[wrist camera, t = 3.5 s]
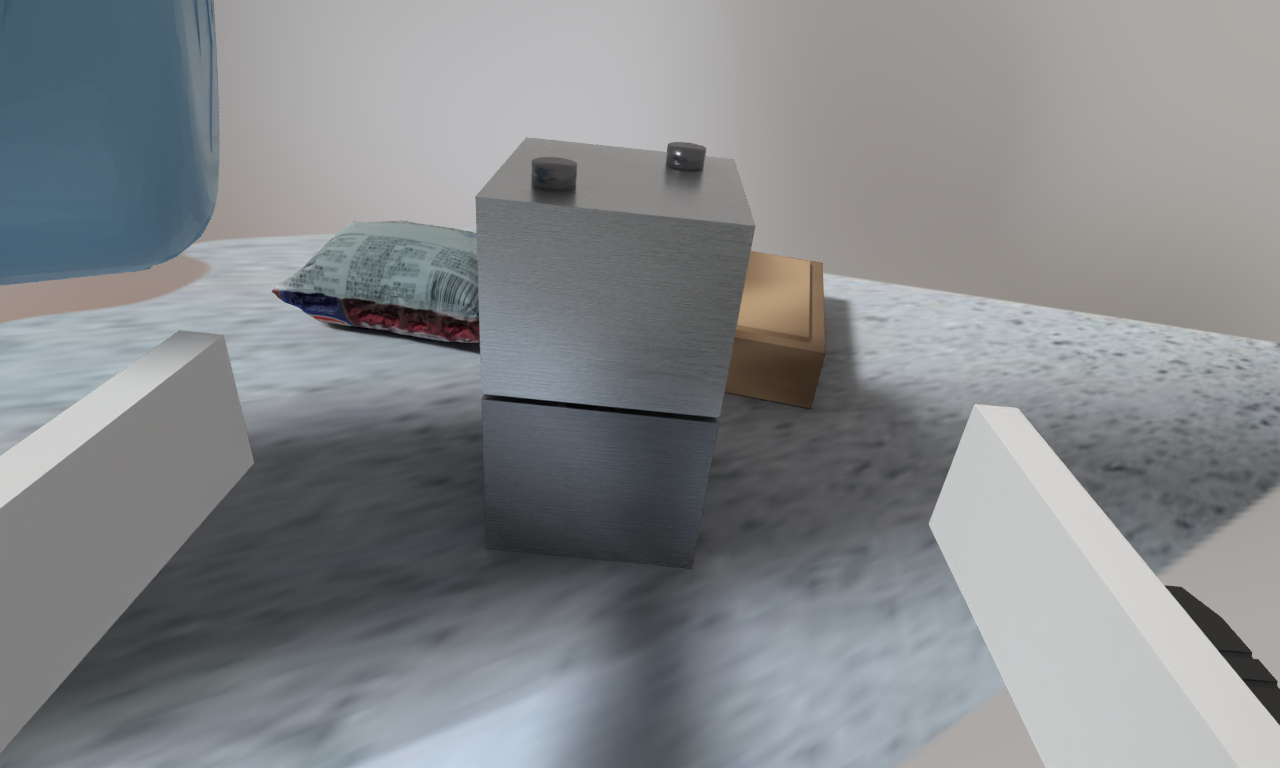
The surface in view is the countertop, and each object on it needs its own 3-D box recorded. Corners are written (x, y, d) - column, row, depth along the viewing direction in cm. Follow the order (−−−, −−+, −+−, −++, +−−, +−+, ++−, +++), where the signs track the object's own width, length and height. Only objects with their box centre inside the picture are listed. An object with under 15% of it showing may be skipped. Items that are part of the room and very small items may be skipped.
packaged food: (365, 271, 42) (355, 190, 39) (554, 302, 41) (556, 221, 38) (276, 336, 35) (256, 242, 32) (502, 377, 33) (501, 282, 31)
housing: (485, 548, 23) (475, 172, 17) (523, 430, 29) (526, 118, 23) (691, 568, 24) (759, 202, 17) (688, 446, 30) (737, 140, 23)
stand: (568, 362, 35) (571, 302, 33) (624, 276, 45) (628, 227, 43) (810, 408, 33) (826, 348, 31) (811, 308, 43) (823, 258, 41)
